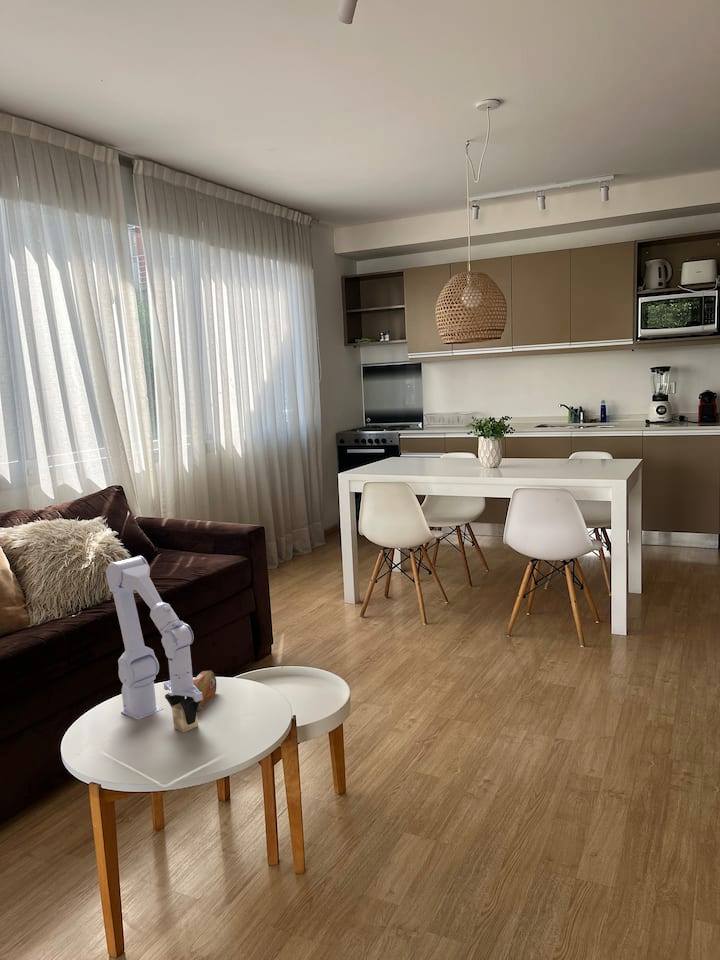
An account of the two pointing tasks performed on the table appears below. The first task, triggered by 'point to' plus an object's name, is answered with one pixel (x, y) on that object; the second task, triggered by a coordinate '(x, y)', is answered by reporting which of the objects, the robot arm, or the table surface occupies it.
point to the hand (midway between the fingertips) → (185, 720)
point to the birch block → (182, 719)
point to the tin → (205, 686)
